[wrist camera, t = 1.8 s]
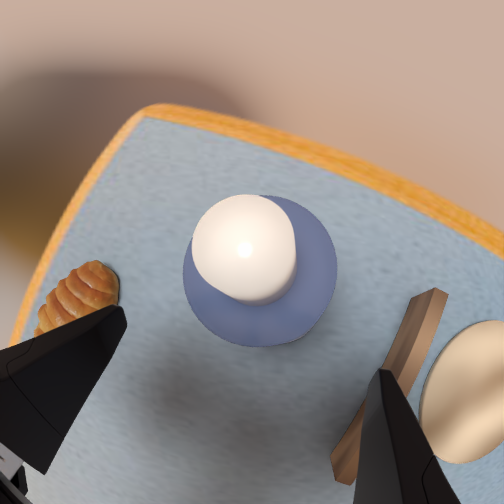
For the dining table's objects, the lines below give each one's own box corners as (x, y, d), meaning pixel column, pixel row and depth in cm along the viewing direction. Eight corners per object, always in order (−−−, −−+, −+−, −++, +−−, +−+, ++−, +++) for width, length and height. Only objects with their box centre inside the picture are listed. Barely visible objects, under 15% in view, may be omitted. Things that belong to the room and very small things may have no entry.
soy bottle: (334, 319, 18) (387, 280, 6) (263, 357, 18) (193, 383, 6) (296, 252, 20) (281, 128, 8) (229, 288, 20) (128, 212, 8)
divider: (342, 460, 15) (350, 485, 11) (330, 455, 15) (335, 480, 11) (423, 303, 17) (448, 294, 13) (411, 298, 17) (435, 287, 14)
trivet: (535, 397, 12) (541, 398, 11) (441, 485, 12) (445, 489, 12) (500, 293, 16) (505, 291, 15) (395, 380, 16) (399, 381, 15)
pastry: (94, 250, 23) (66, 236, 20) (141, 293, 21) (113, 284, 18) (49, 331, 22) (20, 326, 18) (88, 381, 20) (58, 384, 16)
